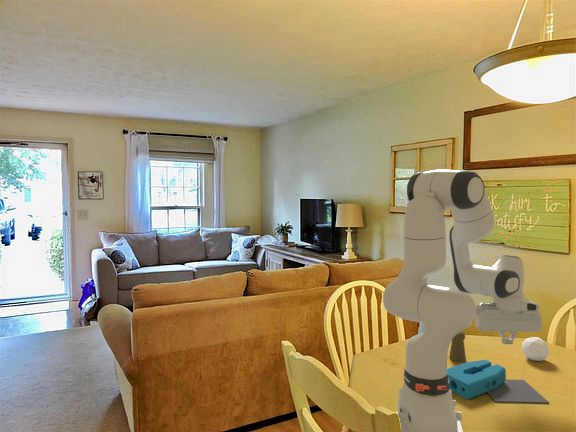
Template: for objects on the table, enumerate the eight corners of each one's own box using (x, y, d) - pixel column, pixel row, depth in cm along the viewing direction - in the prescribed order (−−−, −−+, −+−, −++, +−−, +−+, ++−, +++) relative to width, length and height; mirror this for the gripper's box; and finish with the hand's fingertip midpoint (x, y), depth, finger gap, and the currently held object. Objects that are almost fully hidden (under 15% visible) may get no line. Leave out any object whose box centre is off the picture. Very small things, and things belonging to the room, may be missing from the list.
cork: (468, 362, 154) (469, 333, 153) (452, 362, 154) (453, 333, 154) (462, 355, 160) (462, 328, 160) (446, 355, 160) (447, 328, 160)
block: (479, 370, 145) (439, 384, 136) (479, 357, 145) (438, 370, 136) (510, 384, 134) (469, 400, 125) (510, 369, 134) (469, 385, 125)
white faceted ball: (558, 360, 150) (539, 351, 162) (549, 336, 151) (531, 329, 163) (535, 367, 151) (518, 358, 163) (526, 343, 151) (510, 336, 163)
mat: (549, 403, 123) (549, 402, 123) (495, 402, 124) (495, 400, 124) (523, 380, 138) (523, 379, 138) (475, 379, 139) (475, 378, 139)
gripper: (480, 305, 132) (479, 346, 132) (545, 305, 130) (543, 347, 131) (472, 300, 138) (471, 339, 139) (534, 300, 137) (533, 340, 137)
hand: (507, 343), depth 135 cm, fingers closed
